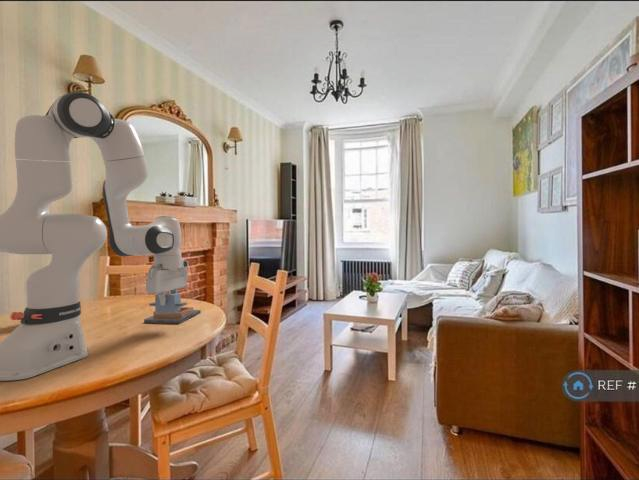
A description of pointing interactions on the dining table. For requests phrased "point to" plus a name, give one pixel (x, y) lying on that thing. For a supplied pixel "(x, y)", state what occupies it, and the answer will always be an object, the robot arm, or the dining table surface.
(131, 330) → the dining table surface
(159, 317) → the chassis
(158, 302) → the block
